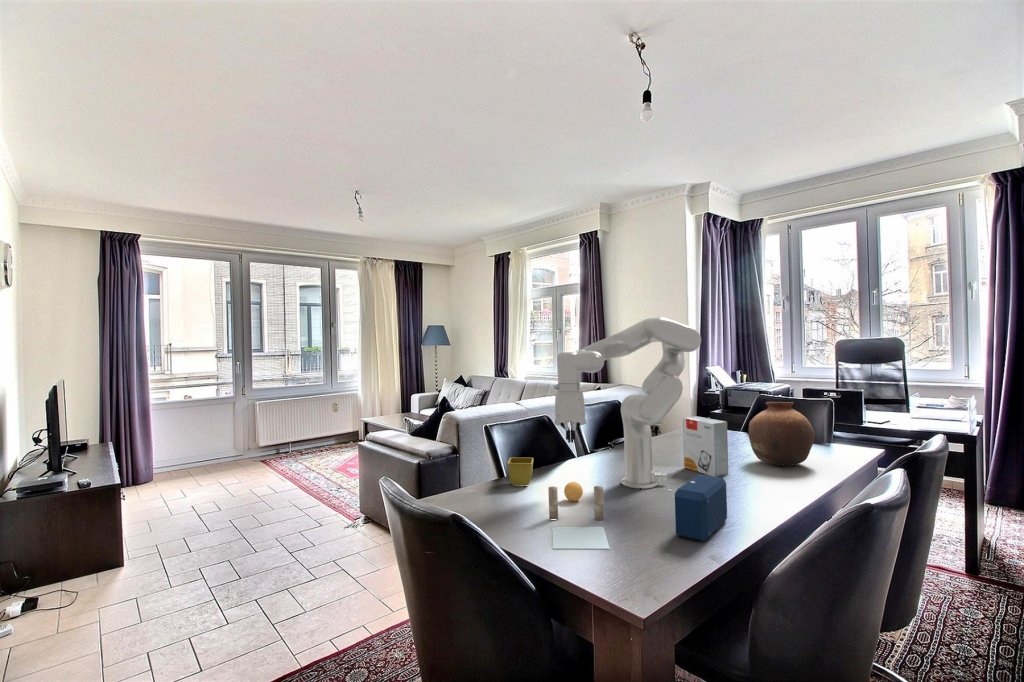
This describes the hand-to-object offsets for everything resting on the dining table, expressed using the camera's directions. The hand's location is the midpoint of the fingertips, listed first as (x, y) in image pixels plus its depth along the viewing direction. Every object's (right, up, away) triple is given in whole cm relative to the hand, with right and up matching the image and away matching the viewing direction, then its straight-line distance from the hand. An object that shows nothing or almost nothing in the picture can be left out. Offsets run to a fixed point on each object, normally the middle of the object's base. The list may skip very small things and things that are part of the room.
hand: (570, 441), depth 168 cm
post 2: (+5, -17, -26) cm, 31 cm away
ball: (0, -14, -9) cm, 17 cm away
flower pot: (-17, -18, +10) cm, 26 cm away
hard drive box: (+54, -16, +21) cm, 60 cm away
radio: (+31, -16, -35) cm, 50 cm away
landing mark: (-2, -17, -39) cm, 43 cm away
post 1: (-8, -17, -25) cm, 31 cm away
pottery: (+87, -15, +27) cm, 92 cm away
